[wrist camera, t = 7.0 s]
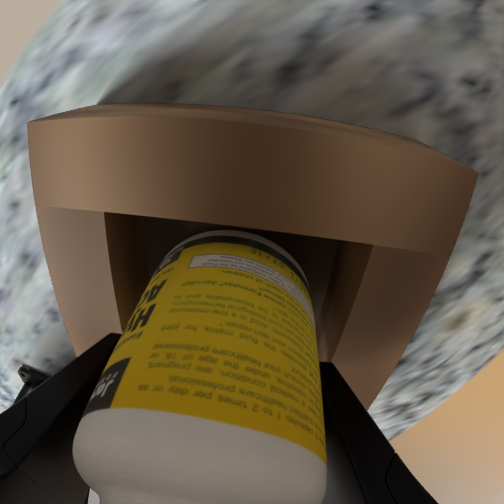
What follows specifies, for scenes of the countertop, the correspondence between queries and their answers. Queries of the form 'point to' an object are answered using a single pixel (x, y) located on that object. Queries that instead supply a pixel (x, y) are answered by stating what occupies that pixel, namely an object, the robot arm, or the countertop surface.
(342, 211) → the socket block
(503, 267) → the countertop surface
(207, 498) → the supplement bottle
